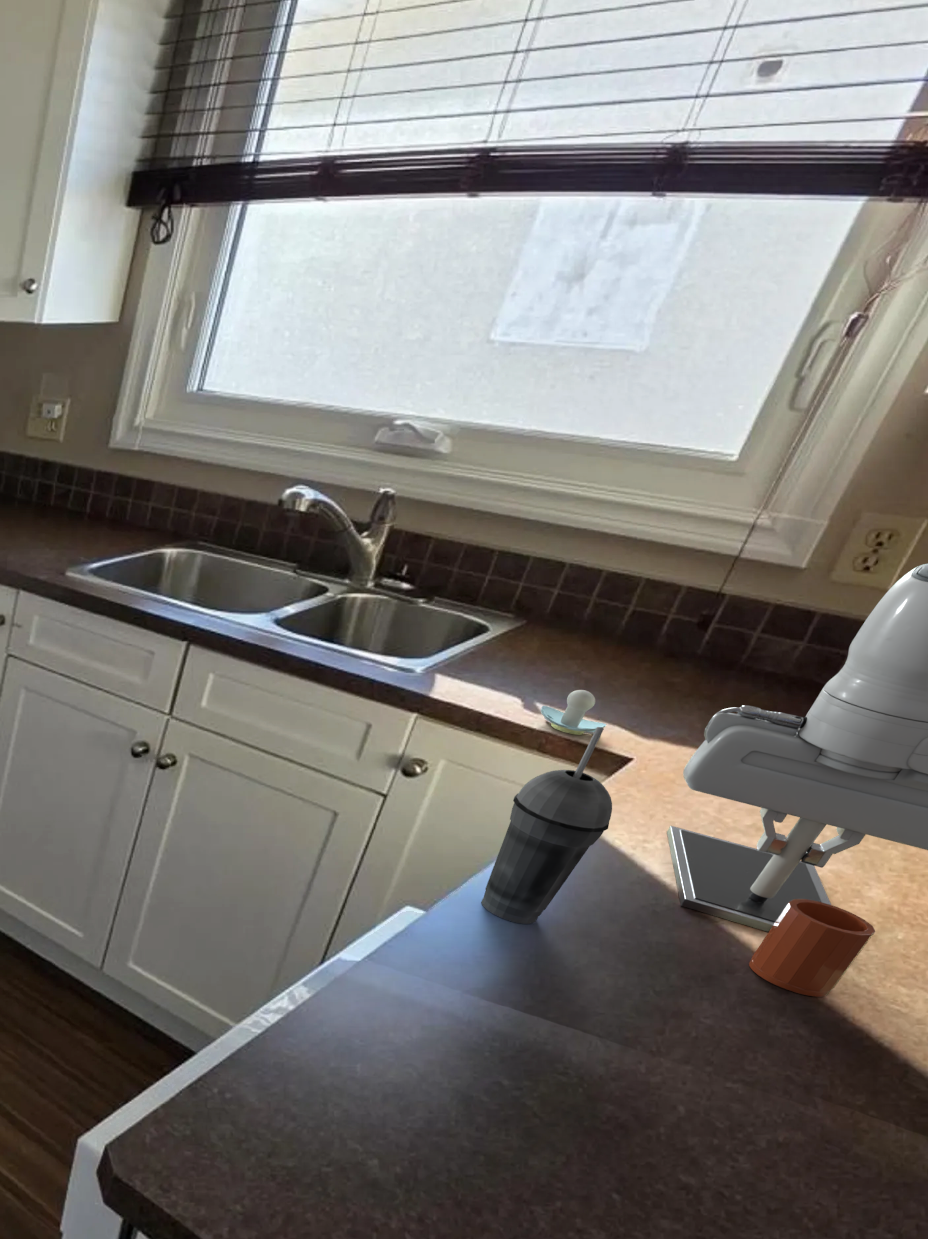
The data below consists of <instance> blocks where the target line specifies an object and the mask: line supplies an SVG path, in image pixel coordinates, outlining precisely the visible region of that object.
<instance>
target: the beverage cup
mask: <svg viewBox="0 0 928 1239" xmlns="http://www.w3.org/2000/svg"><path fill="white" fill-rule="evenodd" d="M604 729H605V727H604V728H602V727H597V728H596V730H595V732H594V734H592V736H591V738H590V741H589V742H588V745H587V747H586V749H585V751H584V753H583V755H582V757H581V759H580V761H579V762H578V765H577V767H576V769H575V770H574V769H573V770H572V769H557V770H550V771H547V772H544V773H542V774H539V775H537V776H535V777H533V778H532V779H530V780H528V781H527V782H526V783H525V784H523V786H522V787H521V789H520V790H519V792H518V793H516V794H515V795H514V797H513V805H512V808H511V813H510V816H509V821H510V822H509V824H508V826H507V830H506V832H505V835H504V838H503V841H502V843H501V845H500V849H499V852H498V854H497V856H496V859H495V862H494V865H493V867H492V870H491V873H490V875H489V878H488V881H487V884H486V887H485V890H484V894H483V897H482V899H481V905H482V907H483V908H484V909H485V910H487V911H488V912H490V914H492V915H494V916H496V917H498V918H501V919H503V920H506V921H509V922H512V923H515V924H516V923H517V924H522V925H530V924H534V923H536V922H537V920H538V919H539V917H540V916H542V913H543V912H544V911H546V909H547V908H548V906H549V905H550V904H551V902H552V901H553V899H554V898H555V897H556V895H557V893H558V892H559V891H560V889H561V888H562V887H563V885H564V884H565V882H566V881H567V880H568V878H569V876H570V875H571V874H572V872H573V871H574V870H575V868H576V867H577V865H578V864H579V862H580V861H581V860H582V858H583V857H584V855H585V854H586V853H587V851H588V850H589V848H590V847H592V846H593V845H595V843H596V842H597V841H598V839H600V837H602V836H603V833H604V832H605V831H607V830H609V827H610V826H609V825H610V821H611V818H612V812H613V801H612V797H611V795H610V793H609V791H608V790H607V789H606V787H605V786H604V785H603V783H601V782H600V781H599V780H598V779H597V778H595V777H593V776H592V775H589V773H588V774H587V773H585V772H584V771H585V769H586V766H587V765H588V762H589V760H590V758H591V756H592V755H593V752H594V750H595V748H596V747H597V744H598V742H599V740H600V738H601V736H602V734H603V731H604Z"/></svg>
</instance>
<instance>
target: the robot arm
mask: <svg viewBox="0 0 928 1239" xmlns="http://www.w3.org/2000/svg"><path fill="white" fill-rule="evenodd" d="M735 712H736V713H735ZM703 737H704V741H703V742H702V743H701V744H700V745H699V746H698V748H697V749H696V750H695V752H694V753H693V754H692V755H691V757H690V758H689V760H688V761H687V763H686V764H685V766H684V768H683V772H682V775H683V779H684V781H685V783H686V785H687V786H688V788H689V789H690V790H691V791H695V792H699V793H703V794H707V795H709V796H710V795H711V796H714V797H718V798H723V799H725V800H730V801H734V802H738V803H742V804H745V805H750V806H754V807H757V808H760V809H759V814H760V818H761V823H762V827H763V833H762V834H761V836H760V838H759V839H758V841H757V843H756V849H757V850H759V851H762V852H767V853H770V854H774V855H779V854H780V853H781V849H782V848H784V847H785V845H786V844H787V839H785V838H786V837H787V836H786V835H785V834H782V833H779V832H776V828H775V823H778V824H781V823H784V821H785V819H786V818H787V816H793V817H796V818H804V819H808V820H811V821H815V822H819V823H823V824H827V825H828V826H831V827H834V828H835V827H836V828H835V831H836V833H837V834H838V835H835V836H833V837H832V838H830V839H828V840H826V841H824V842H821V843H816V842H813V844H812V845H811V847H810V848H809V849H808V851H807V852H806V853H805V855H804V856H803V858H802V859H801V860H800V861H801V862H803V863H806V864H810V865H813V866H815V867H818V868H821V869H823V868H824V867H825V866H826V864H828V862H829V860H830V859H831V857H832V856H833V855H837V854H839V853H841V852H844V851H845V850H848V849H850V848H853V847H855V846H857V845H859V844H860V843H861V842H862V841H863V839H864V838H865V837H866V835H867V836H871V837H874V838H878V839H881V840H887V841H888V842H889V841H890V842H894V843H897V844H902V845H906V846H908V847H913V848H917V849H920V850H925V851H928V563H923V564H920V565H917V566H916V567H914V568H913V569H911V570H910V571H907V573H905V574H904V575H903V576H902V577H900V578H899V579H897V581H896V582H895V583H894V584H893V585H892V586H891V587H890V588H889V589H888V590H887V592H885V594H884V595H883V596H882V598H881V599H880V600H879V601H878V603H877V604H876V605H875V606H874V608H873V609H872V610H871V612H870V613H869V615H868V616H867V617H866V618H865V621H864V623H863V624H862V625H861V627H860V628H859V630H858V631H857V633H856V635H855V636H854V638H853V639H852V640H851V643H850V645H849V647H848V653H847V658H846V660H845V663H844V665H843V666H842V668H841V669H840V670H839V671H838V672H837V673H836V674H835V675H834V676H832V678H830V679H829V680H828V681H827V682H826V683H825V684H824V686H823V687H822V688H821V691H819V694H818V696H817V697H816V698H815V700H814V702H813V704H812V705H811V707H810V709H809V710H808V712H807V713H806V715H805V716H800V715H795V714H790V713H785V712H780V711H779V712H778V711H770V710H766V709H761V708H760V707H758V706H753V705H746V704H745V705H743V704H742V705H740V707H728V708H724V709H721V710H719V711H717V712H716V713H715V714H714V715H712V717H711V718H710V720H709V722H708V723H707V725H706V727H705V728H704V732H703ZM774 822H775V823H774ZM827 825H826V826H827Z"/></svg>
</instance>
